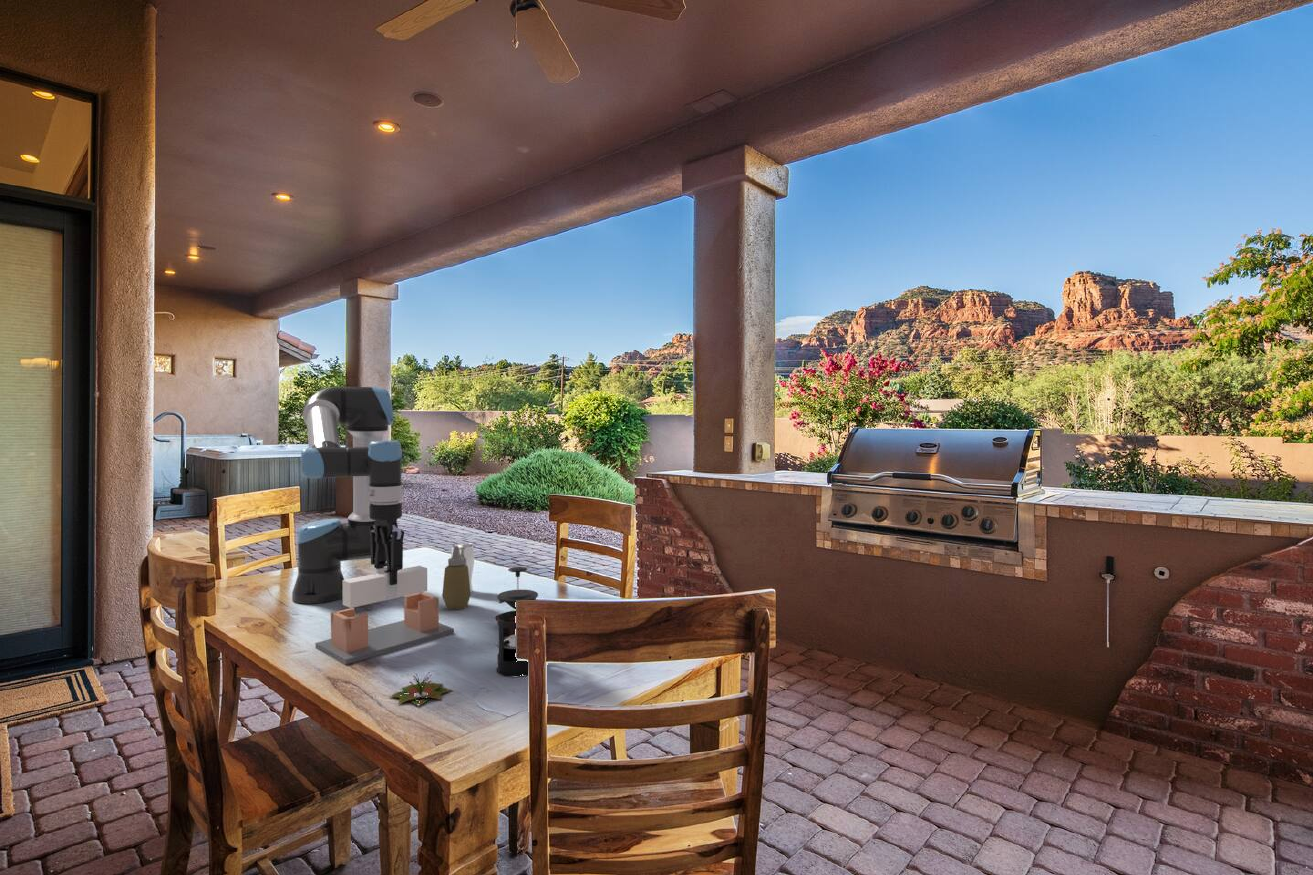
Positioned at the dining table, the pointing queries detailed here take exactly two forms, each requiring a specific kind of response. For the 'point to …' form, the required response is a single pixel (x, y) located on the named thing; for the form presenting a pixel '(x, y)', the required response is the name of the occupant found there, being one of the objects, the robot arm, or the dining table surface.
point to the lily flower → (420, 691)
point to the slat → (383, 586)
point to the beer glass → (467, 558)
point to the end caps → (383, 630)
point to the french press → (507, 641)
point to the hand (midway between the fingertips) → (386, 595)
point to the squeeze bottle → (456, 582)
